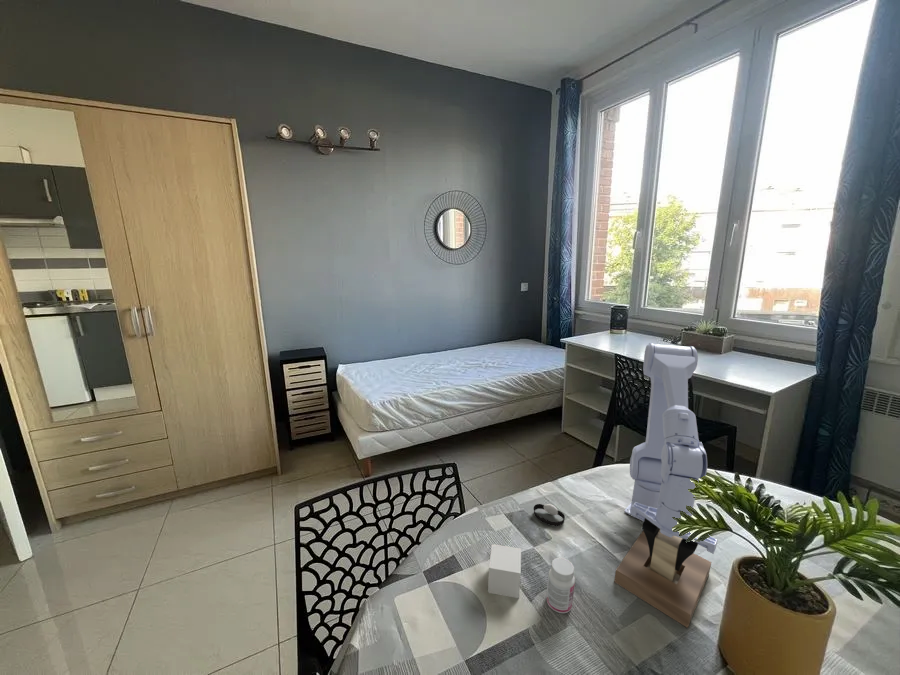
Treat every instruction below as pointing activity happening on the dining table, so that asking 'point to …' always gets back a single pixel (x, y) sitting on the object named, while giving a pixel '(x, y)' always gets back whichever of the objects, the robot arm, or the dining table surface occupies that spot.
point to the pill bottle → (561, 585)
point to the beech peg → (665, 555)
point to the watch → (550, 510)
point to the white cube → (504, 571)
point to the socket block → (663, 582)
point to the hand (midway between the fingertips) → (665, 560)
